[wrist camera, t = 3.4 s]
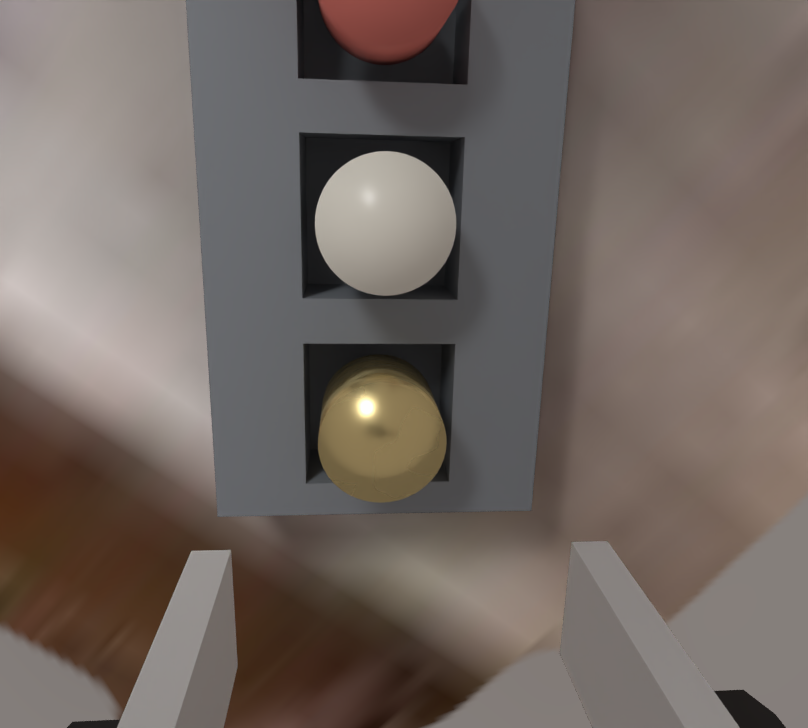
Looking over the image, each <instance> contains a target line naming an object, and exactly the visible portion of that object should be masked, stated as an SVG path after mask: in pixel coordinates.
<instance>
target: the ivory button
mask: <svg viewBox="0 0 808 728" xmlns="http://www.w3.org/2000/svg"><path fill="white" fill-rule="evenodd" d="M315 233H316V238H317V243H318V246H319V249H320V252H321V254H322V256H323V258H324V260H325V261H326V263H327V264H328V266H329V267H330V269H331V270H332V271H333V272H334V273H335V274H336V275H337V276H338V277H339V278H340V279H341V280H342V281H344V282H345V283H347V284H348V285H350V286H351V287H353V288H355V289H357V290H359V291H362V292H365V293H369V294H373V295H382V296H389V295H398V294H403V293H406V292H409V291H412V290H414V289H416V288H418V287H420V286H422V285H423V284H425V283H426V282H428V281H429V280H430V279H431V278H433V277H434V276H435V275H436V274H437V272H438V271H439V270H440V269H441V268H442V266H443V265H444V263H445V262H446V260H447V258H448V256H449V255H450V252H451V250H452V247H453V244H454V239H455V234H456V213H455V207H454V204H453V200H452V197H451V195H450V193H449V190H448V189H447V187H446V185H445V184H444V182H443V181H442V179H441V178H440V177H439V176H438V174H437V173H436V172H435V171H434V170H432V169H431V168H430V167H429V166H428V165H426V164H425V163H424V162H422V161H420V160H418V159H416V158H414V157H412V156H409V155H407V154H403V153H399V152H391V151H378V152H372V153H368V154H365V155H361V156H359V157H357V158H355V159H353V160H351V161H349V162H348V163H346V164H345V165H343V166H342V167H341V168H340V169H339V170H337V171H336V172H335V173H334V175H333V176H332V177H331V178H330V179H329V181H328V182H327V184H326V185H325V187H324V189H323V191H322V193H321V195H320V198H319V201H318V204H317V208H316V214H315Z"/></svg>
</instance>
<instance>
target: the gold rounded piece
mask: <svg viewBox="0 0 808 728" xmlns="http://www.w3.org/2000/svg"><path fill="white" fill-rule="evenodd" d="M446 444H447V441H446V431H445V427H444V423H443V420H442V418H441V415H440V413H439V410H438V407H437V405H436V402H435V400H434V397H433V394H432V392H431V389H430V387H429V385H428V383H427V381H426V379H425V378H424V376H423V375H422V374H421V373H420V371H419V370H418V369H416V368H415V367H414V366H413V365H411V364H410V363H408V362H407V361H405V360H403V359H401V358H398V357H395V356H390V355H383V354H375V355H367V356H363V357H360V358H357V359H355V360H353V361H350V362H349V363H347V364H346V365H344V366H343V367H342V368H341V369H339V370H338V371H337V372H336V373H335V375H334V376H333V377H332V379H331V380H330V381H329V383H328V385H327V387H326V390H325V393H324V396H323V402H322V410H321V419H320V427H319V436H318V453H319V457H320V461H321V464H322V466H323V469H324V470H325V472H326V474H327V475H328V477H329V478H330V479H331V481H332V482H333V483H334V484H335V485H336V486H337V487H338V488H340V489H341V490H342V491H344V492H345V493H347V494H349V495H350V496H353V497H355V498H357V499H361V500H364V501H369V502H379V503H383V502H392V501H398V500H401V499H404V498H407V497H409V496H411V495H413V494H415V493H416V492H418V491H420V490H421V489H422V488H424V487H425V486H426V485H427V484H428V483H429V482H430V481H431V480H432V479H433V478H434V476H435V475H436V474H437V472H438V470H439V469H440V467H441V465H442V462H443V460H444V456H445V452H446Z"/></svg>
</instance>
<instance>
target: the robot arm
mask: <svg viewBox="0 0 808 728" xmlns="http://www.w3.org/2000/svg"><path fill="white" fill-rule="evenodd" d="M560 656H561V658H562V660H563V662H564V665H565V667H566V669H567V671H568V674H569V676H570V678H571V681H572V683H573V685H574V687H575V690H576V692H577V694H578V696H579V699H580V701H581V703H582V705H583V708H584V710H585V712H586V714H587V717H588V719H589V721H590V723H591V726H592V728H786V727H785V726H784V725H783V724H782V722H781V721H780V720H779V718H778V717H777V716H776V715H775V714H774V713H773V712H772V711H770V710H769V709H768V708H766V707H765V706H764V705H762V704H761V703H760V702H758V701H757V700H756V699H755V698H753V697H752V696H751V695H749V694H748V693H747V692H745V691H744V690H729V691H713V689H712V688H711V686H710V685H709V684H708V682H707V681H706V679H705V678H704V676H703V675H702V674H701V672H700V671H699V669H698V668H697V667H696V665H695V664H694V662H693V661H692V660H691V658H690V657H689V655H688V654H687V653H686V651H685V650H684V648H683V647H682V646H681V644H680V643H679V641H678V640H677V639H676V637H675V636H674V634H673V633H672V631H671V630H670V629H669V627H668V626H667V624H666V623H665V622H664V620H663V619H662V617H661V616H660V614H659V613H658V612H657V610H656V609H655V607H654V606H653V605H652V603H651V602H650V600H649V599H648V598H647V596H646V595H645V593H644V592H643V591H642V589H641V588H640V586H639V585H638V583H637V582H636V581H635V579H634V578H633V576H632V575H631V574H630V572H629V571H628V569H627V568H626V567H625V565H624V564H623V562H622V561H621V560H620V558H619V557H618V555H617V554H616V552H615V551H614V550H613V548H612V547H611V545H610V544H609V543H608V541H590V542H571V552H570V561H569V570H568V580H567V589H566V599H565V608H564V618H563V627H562V636H561V646H560ZM236 671H237V648H236V630H235V613H234V595H233V577H232V559H231V550H211V551H191V553H190V555H189V558H188V560H187V562H186V565H185V567H184V570H183V572H182V574H181V577H180V579H179V581H178V584H177V586H176V589H175V591H174V593H173V596H172V598H171V600H170V603H169V605H168V608H167V610H166V612H165V615H164V617H163V620H162V622H161V624H160V627H159V629H158V631H157V634H156V636H155V639H154V641H153V643H152V646H151V648H150V650H149V653H148V655H147V658H146V660H145V662H144V665H143V667H142V669H141V672H140V674H139V677H138V679H137V681H136V684H135V686H134V688H133V691H132V693H131V696H130V698H129V700H128V703H127V705H126V707H125V710H124V712H123V715H122V717H121V719H120V720H103V721H84V722H83V721H82V722H72V723H71V724H70V725H69V726H68V727H67V728H224V723H225V719H226V715H227V710H228V706H229V701H230V697H231V693H232V688H233V684H234V679H235V675H236Z"/></svg>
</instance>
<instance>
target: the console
mask: <svg viewBox="0 0 808 728" xmlns="http://www.w3.org/2000/svg"><path fill="white" fill-rule="evenodd" d="M574 9H575V0H458V2H457V4H456V6H455V8H454V9H453V11H452V12H451V14H450V16H449V17H448V19H447V20H446V22H445V24H444V25H443V27H442V28H441V30H440V32H439V33H438V35H437V36H436V38H435V39H434V41H433V42H432V43H431V44H430V45H429V46H428V47H427V48H426V49H425V50H424V51H423V52H422V53H420V54H419V55H417V56H416V57H414V58H412V59H410V60H408V61H405V62H402V63H399V64H394V65H376V64H371V63H367V62H364V61H362V60H360V59H357V58H356V57H354V56H352V55H351V54H349V53H348V52H347V51H345V50H344V49H343V48H342V47H341V46H340V45H339V44H338V43H337V42H336V41H335V39H334V38H333V37H332V36H331V34H330V32H329V31H328V29H327V27H326V25H325V23H324V21H323V18H322V15H321V12H320V8H319V3H318V0H186V10H187V26H188V42H189V58H190V75H191V91H192V107H193V123H194V140H195V156H196V172H197V188H198V205H199V221H200V237H201V253H202V270H203V286H204V302H205V318H206V335H207V351H208V367H209V383H210V400H211V416H212V432H213V448H214V465H215V481H216V497H217V513H218V517H224V516H276V515H328V514H380V513H432V512H484V511H531V508H532V497H533V485H534V474H535V462H536V450H537V439H538V427H539V416H540V404H541V392H542V381H543V369H544V357H545V346H546V334H547V323H548V311H549V299H550V288H551V276H552V264H553V253H554V241H555V230H556V218H557V206H558V195H559V183H560V172H561V160H562V148H563V137H564V125H565V113H566V102H567V90H568V79H569V67H570V55H571V44H572V32H573V21H574ZM378 151H391V152H399V153H403V154H407V155H409V156H412V157H414V158H416V159H418V160H420V161H422V162H424V163H425V164H426V165H428V166H429V167H430V168H431V169H432V170H434V171H435V172H436V173H437V174H438V176H439V177H440V178H441V179H442V181H443V182H444V184H445V185H446V187H447V189H448V190H449V193H450V195H451V197H452V200H453V204H454V207H455V213H456V234H455V239H454V244H453V247H452V250H451V252H450V255H449V256H448V258H447V260H446V262H445V263H444V265H443V266H442V268H441V269H440V270H439V271H438V272H437V274H436V275H435V276H434V277H433V278H431V279H430V280H429V281H428V282H426V283H425V284H423V285H422V286H420V287H418V288H416V289H414V290H412V291H409V292H406V293H403V294H398V295H389V296H382V295H373V294H369V293H365V292H362V291H359V290H357V289H355V288H353V287H351V286H350V285H348V284H347V283H345V282H344V281H342V280H341V279H340V278H339V277H338V276H337V275H336V274H335V273H334V272H333V271H332V270H331V269H330V267H329V266H328V264H327V263H326V261H325V260H324V258H323V256H322V254H321V252H320V249H319V246H318V243H317V238H316V233H315V214H316V208H317V204H318V201H319V198H320V195H321V193H322V191H323V189H324V187H325V185H326V184H327V182H328V181H329V179H330V178H331V177H332V176H333V175H334V173H335V172H336V171H337V170H339V169H340V168H341V167H342V166H343V165H345V164H346V163H348V162H349V161H351V160H353V159H355V158H357V157H359V156H361V155H365V154H368V153H372V152H378ZM375 354H383V355H390V356H395V357H398V358H401V359H403V360H405V361H407V362H408V363H410V364H411V365H413V366H414V367H415V368H416V369H418V370H419V371H420V373H421V374H422V375H423V376H424V378H425V379H426V381H427V383H428V385H429V387H430V389H431V392H432V394H433V397H434V400H435V402H436V405H437V407H438V410H439V413H440V415H441V418H442V420H443V423H444V427H445V431H446V441H447V444H446V452H445V456H444V460H443V462H442V465H441V467H440V469H439V470H438V472H437V474H436V475H435V476H434V478H433V479H432V480H431V481H430V482H429V483H428V484H427V485H426V486H425V487H424V488H422V489H421V490H420V491H418V492H416V493H415V494H413V495H411V496H409V497H407V498H404V499H401V500H398V501H392V502H383V503H379V502H369V501H364V500H361V499H357V498H355V497H353V496H350V495H349V494H347V493H345V492H344V491H342V490H341V489H340V488H338V487H337V486H336V485H335V484H334V483H333V482H332V481H331V479H330V478H329V477H328V475H327V474H326V472H325V470H324V469H323V466H322V464H321V461H320V457H319V453H318V436H319V427H320V419H321V410H322V402H323V396H324V393H325V390H326V387H327V385H328V383H329V381H330V380H331V379H332V377H333V376H334V375H335V373H336V372H337V371H338V370H339V369H341V368H342V367H343V366H344V365H346V364H347V363H349V362H350V361H353V360H355V359H357V358H360V357H363V356H367V355H375Z"/></svg>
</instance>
